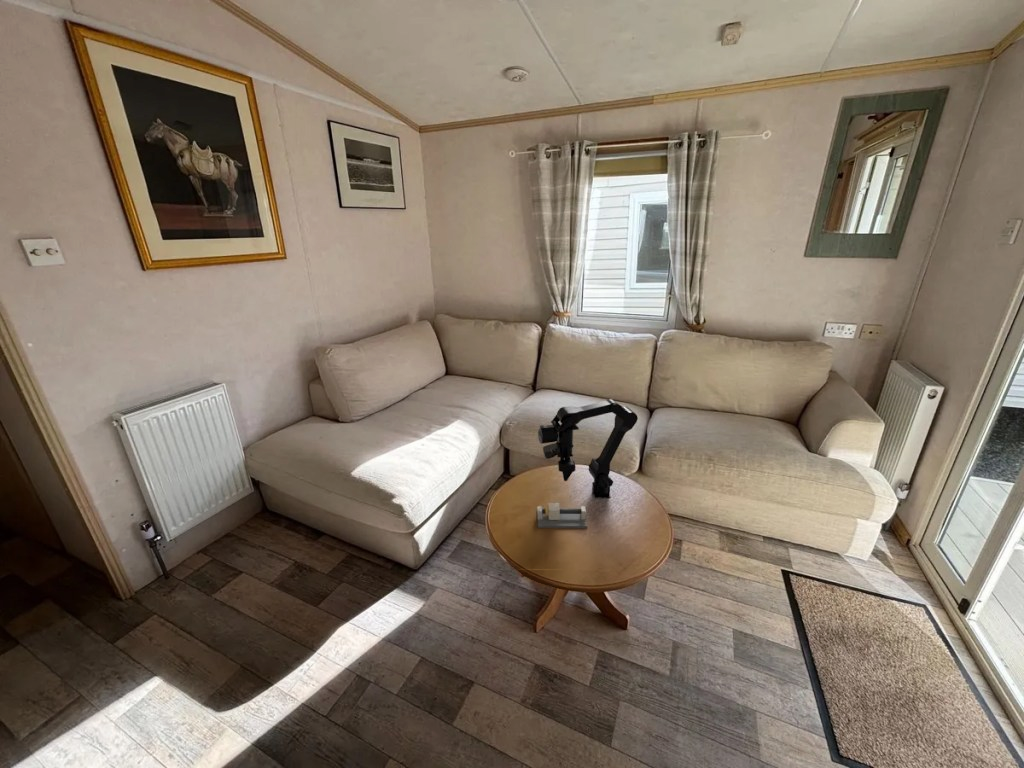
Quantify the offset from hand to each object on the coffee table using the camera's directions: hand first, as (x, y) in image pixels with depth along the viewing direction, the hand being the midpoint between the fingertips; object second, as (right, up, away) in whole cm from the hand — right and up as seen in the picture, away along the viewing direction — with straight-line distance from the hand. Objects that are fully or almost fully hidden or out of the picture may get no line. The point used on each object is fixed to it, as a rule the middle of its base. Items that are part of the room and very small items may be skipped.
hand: (564, 474), depth 158 cm
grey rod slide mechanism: (-2, -16, -7) cm, 17 cm away
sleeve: (-5, -14, -7) cm, 17 cm away
